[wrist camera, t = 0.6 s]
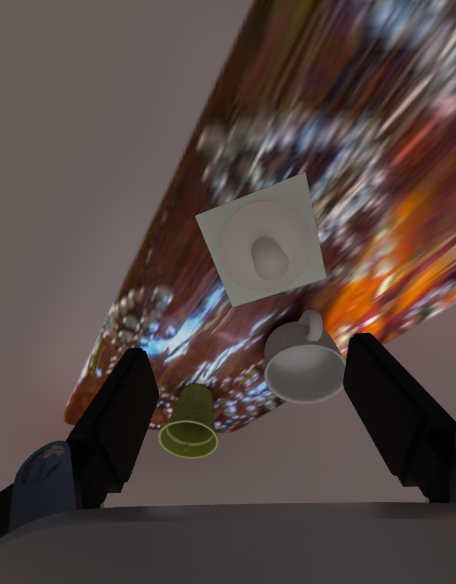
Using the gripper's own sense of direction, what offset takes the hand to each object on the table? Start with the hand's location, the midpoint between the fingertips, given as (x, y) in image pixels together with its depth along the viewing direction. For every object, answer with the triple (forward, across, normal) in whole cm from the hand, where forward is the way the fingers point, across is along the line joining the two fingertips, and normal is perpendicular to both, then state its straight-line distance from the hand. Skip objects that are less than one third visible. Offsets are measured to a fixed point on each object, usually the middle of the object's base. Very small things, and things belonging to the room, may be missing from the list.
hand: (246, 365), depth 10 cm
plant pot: (+22, +10, +27) cm, 37 cm away
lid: (+21, -3, 0) cm, 21 cm away
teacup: (+22, -8, +14) cm, 27 cm away
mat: (+22, -3, 0) cm, 22 cm away
